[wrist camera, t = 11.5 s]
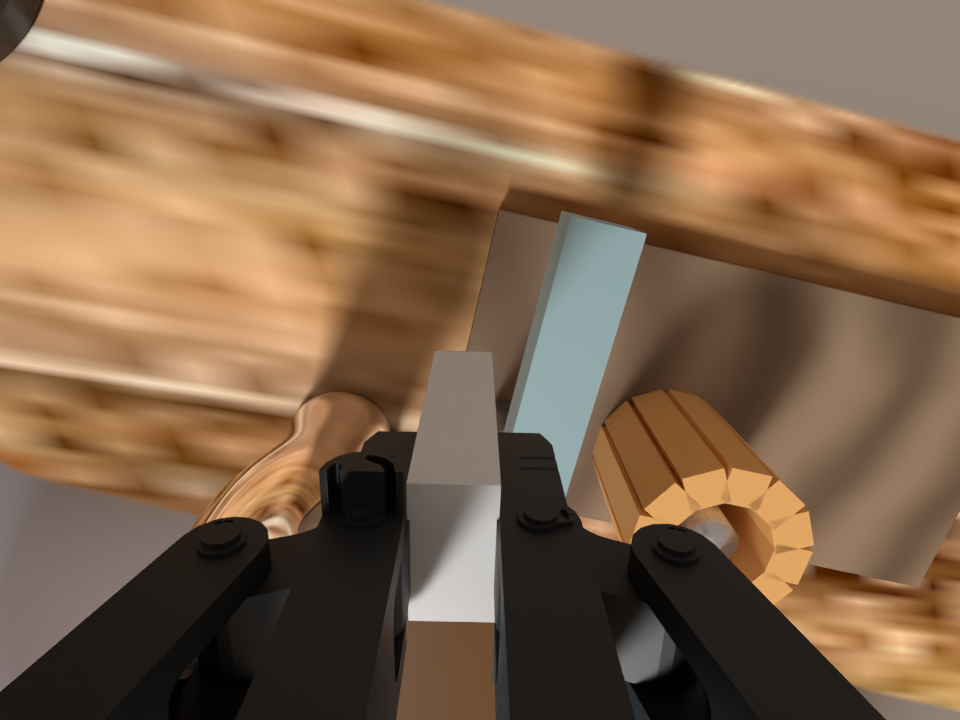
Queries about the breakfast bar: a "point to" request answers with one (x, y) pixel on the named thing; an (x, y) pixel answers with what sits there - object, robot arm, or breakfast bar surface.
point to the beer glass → (298, 465)
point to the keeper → (573, 332)
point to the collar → (701, 484)
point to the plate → (770, 388)
